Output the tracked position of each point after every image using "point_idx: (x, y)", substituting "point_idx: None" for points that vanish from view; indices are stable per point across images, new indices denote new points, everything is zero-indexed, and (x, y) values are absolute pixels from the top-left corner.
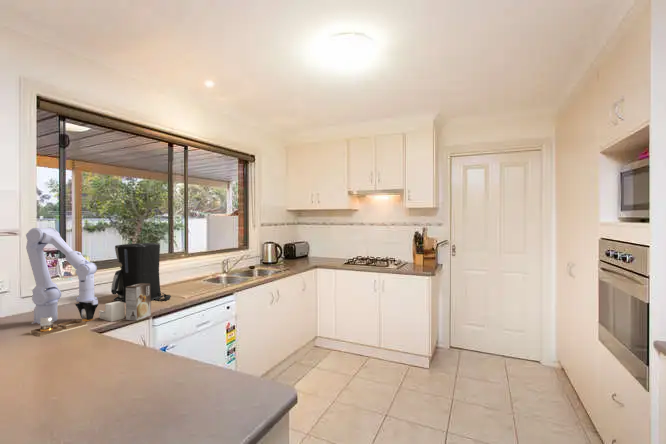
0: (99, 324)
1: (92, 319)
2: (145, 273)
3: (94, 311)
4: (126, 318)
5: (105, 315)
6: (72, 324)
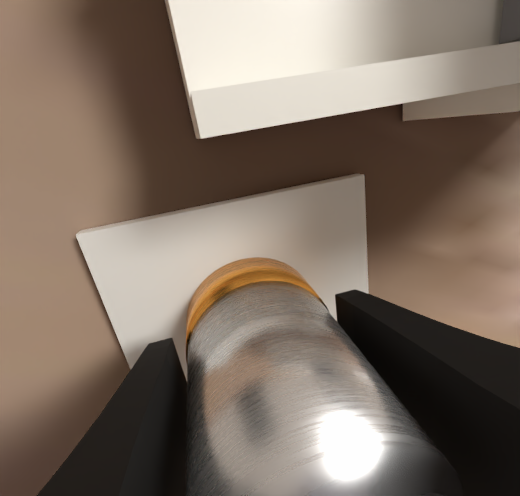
0: (475, 230)
1: (284, 268)
2: None
3: (484, 346)
4: None
5: (486, 113)
6: None
